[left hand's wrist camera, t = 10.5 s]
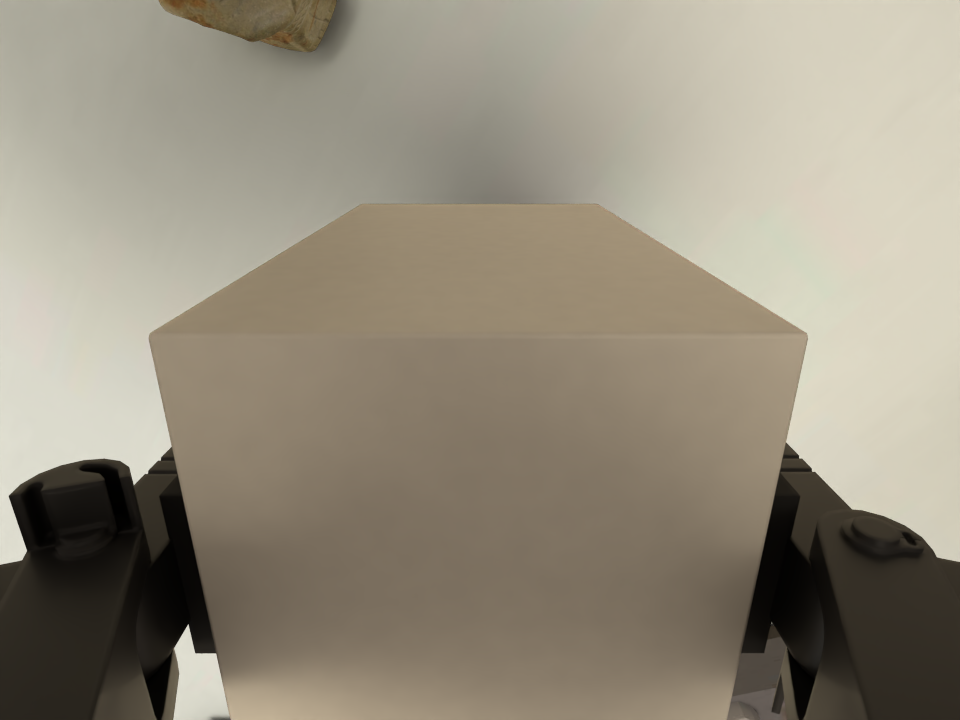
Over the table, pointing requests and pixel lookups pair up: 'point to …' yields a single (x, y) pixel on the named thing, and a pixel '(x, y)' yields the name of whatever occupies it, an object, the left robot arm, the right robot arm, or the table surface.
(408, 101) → the table surface
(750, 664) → the toy
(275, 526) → the brick
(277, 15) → the sculpture
